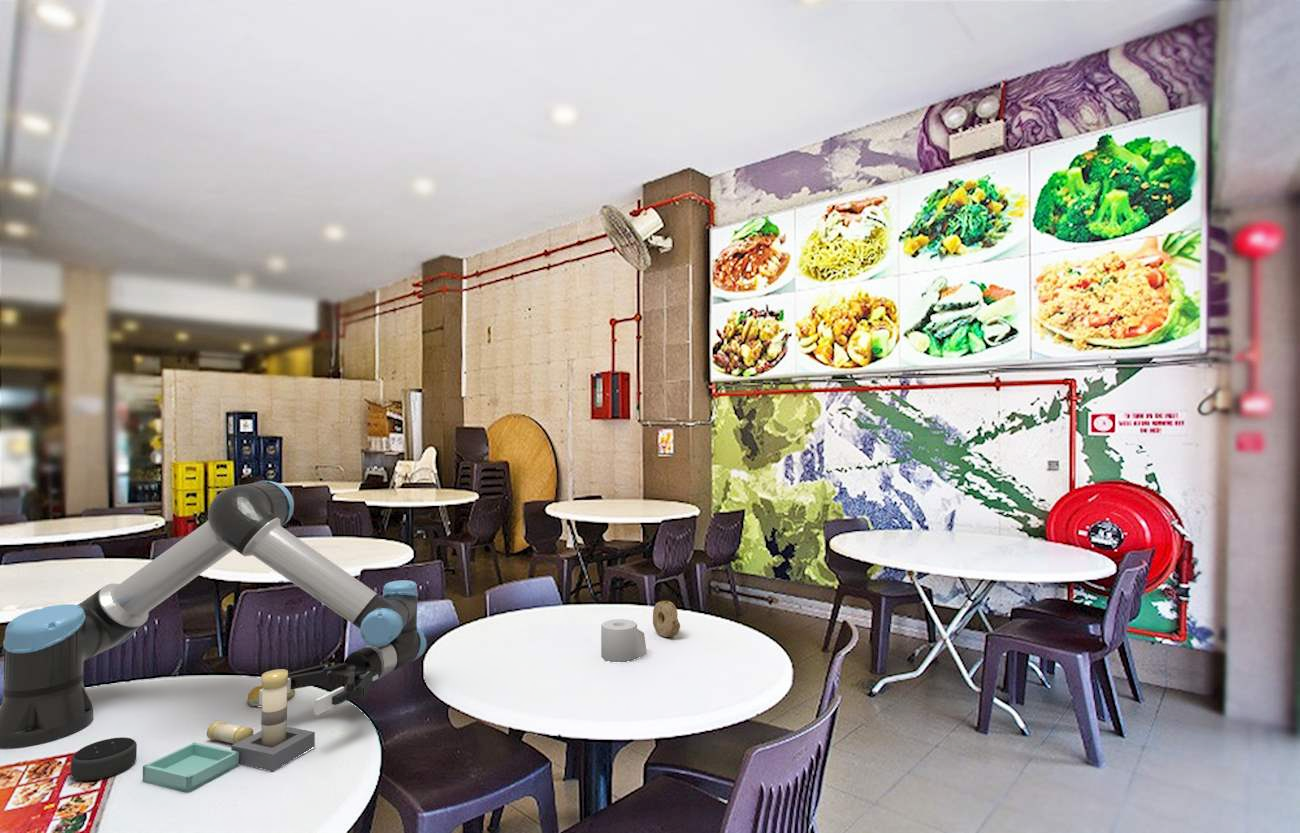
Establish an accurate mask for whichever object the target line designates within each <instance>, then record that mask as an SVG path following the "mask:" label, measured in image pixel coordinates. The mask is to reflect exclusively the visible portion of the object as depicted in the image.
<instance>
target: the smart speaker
mask: <svg viewBox="0 0 1300 833" xmlns="http://www.w3.org/2000/svg"><path fill="white" fill-rule="evenodd" d="M137 745H138V744H137V741H136V740H134V739H133V738H131V737H125V736H123V737H113V738H111V737H110V738H106V739H102V740H98V741H96V742H93V743H90V744H87V745H85V746H84V747H82V748H80V749H79V750H77V751H76V752H75V753H74V754H73V755H72V757H71V760H70V775H71V777H72V778H73V779H75V780H77V781H83V782H85V781H86V782H87V781H88V782H89V781H97V780H101V779H105V778H109V777H112V776H114V775H117V774H120V773H122V772H123V771H126V770H127V769H128V768H130V767H131V766H132V765H133V764H134V763H135V761H137V755H138V754H137V751H138V749H137V748H138V746H137Z"/></svg>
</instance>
